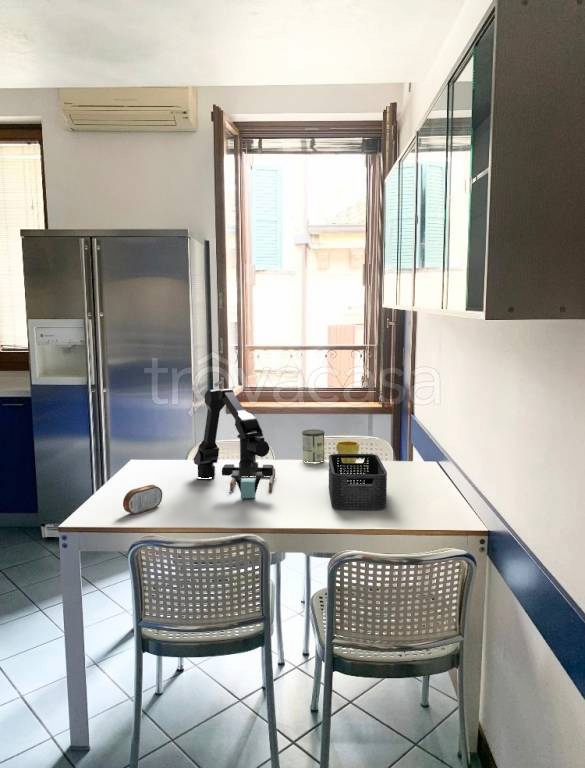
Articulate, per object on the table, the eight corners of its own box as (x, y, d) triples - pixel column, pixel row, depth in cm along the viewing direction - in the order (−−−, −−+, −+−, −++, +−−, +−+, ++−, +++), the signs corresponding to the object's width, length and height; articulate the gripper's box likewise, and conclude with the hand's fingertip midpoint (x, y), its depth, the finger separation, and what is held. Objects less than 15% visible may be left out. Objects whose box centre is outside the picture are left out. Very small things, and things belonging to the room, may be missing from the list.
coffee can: (309, 457, 271) (309, 428, 270) (328, 460, 266) (328, 430, 264) (298, 462, 263) (297, 432, 261) (317, 465, 257) (317, 434, 256)
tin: (158, 504, 205) (158, 481, 204) (164, 506, 203) (163, 483, 202) (122, 515, 193) (121, 491, 192) (128, 517, 191) (127, 493, 190)
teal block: (240, 497, 208) (240, 482, 207) (242, 493, 213) (242, 478, 212) (254, 498, 208) (254, 482, 207) (255, 493, 213) (255, 478, 212)
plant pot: (331, 464, 258) (331, 443, 257) (344, 460, 266) (344, 439, 265) (350, 468, 251) (350, 446, 250) (363, 463, 259) (363, 442, 258)
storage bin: (387, 511, 197) (388, 473, 195) (332, 511, 197) (332, 473, 196) (376, 486, 225) (377, 453, 224) (328, 486, 225) (328, 453, 224)
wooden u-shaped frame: (230, 491, 219) (230, 482, 218) (237, 476, 240) (237, 468, 239) (271, 492, 218) (271, 483, 218) (275, 476, 239) (275, 468, 239)
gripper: (218, 456, 201) (219, 499, 203) (271, 457, 200) (271, 499, 202) (223, 449, 212) (224, 489, 214) (273, 449, 211) (274, 490, 213)
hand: (248, 492), depth 210 cm, fingers closed on teal block, 5 cm apart
